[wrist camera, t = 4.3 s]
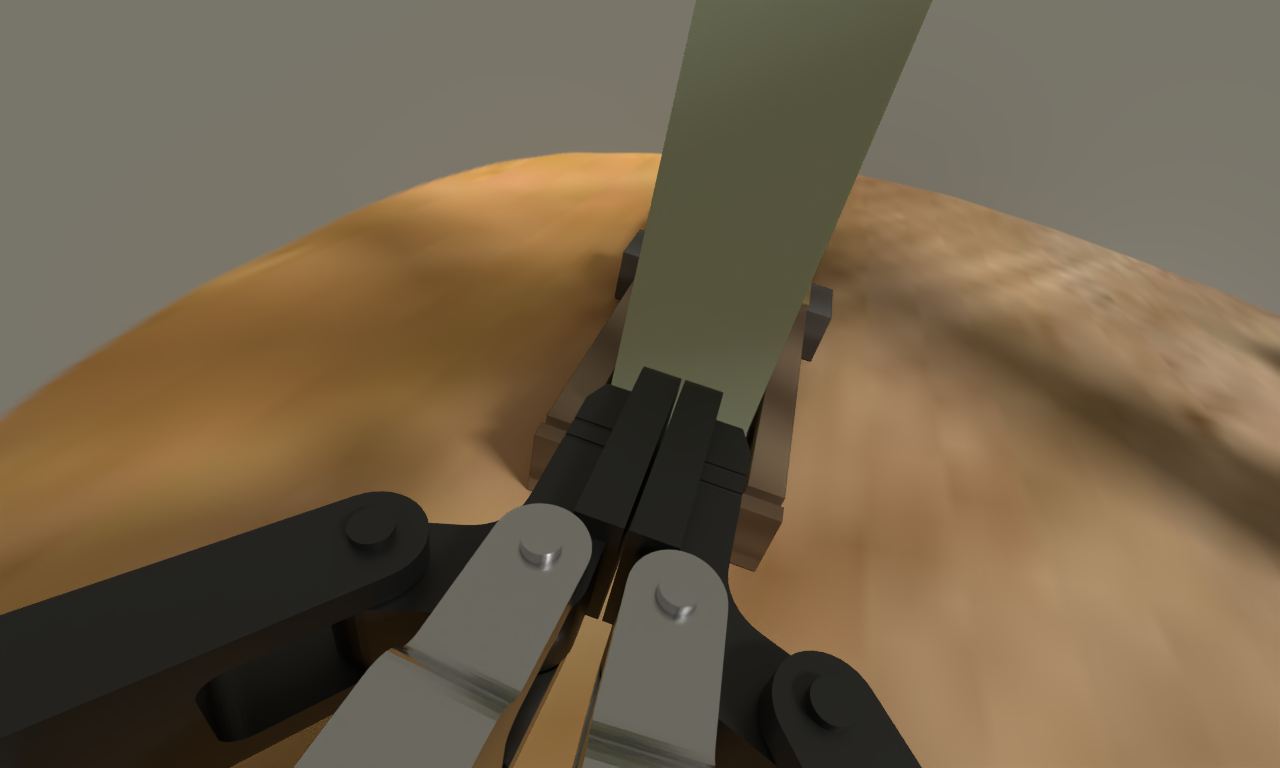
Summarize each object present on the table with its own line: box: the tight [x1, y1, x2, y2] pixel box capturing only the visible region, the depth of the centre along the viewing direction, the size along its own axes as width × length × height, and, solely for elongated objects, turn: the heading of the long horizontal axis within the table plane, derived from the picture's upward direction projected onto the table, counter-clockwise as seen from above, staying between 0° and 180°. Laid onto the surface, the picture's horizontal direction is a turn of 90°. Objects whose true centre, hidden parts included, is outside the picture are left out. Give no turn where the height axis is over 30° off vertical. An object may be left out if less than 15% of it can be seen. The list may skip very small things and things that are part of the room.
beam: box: [528, 230, 833, 571], centre depth 29 cm, size 24×10×3 cm, turn 164°
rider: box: [611, 0, 932, 436], centre depth 17 cm, size 6×5×17 cm
